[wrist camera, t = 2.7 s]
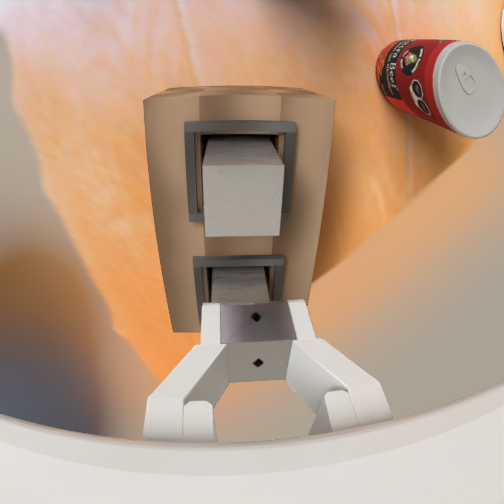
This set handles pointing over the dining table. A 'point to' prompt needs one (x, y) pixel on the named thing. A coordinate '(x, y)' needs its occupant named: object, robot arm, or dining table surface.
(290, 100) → the socket block
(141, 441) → the robot arm
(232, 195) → the peg
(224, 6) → the dining table surface
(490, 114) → the canned food
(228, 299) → the peg
